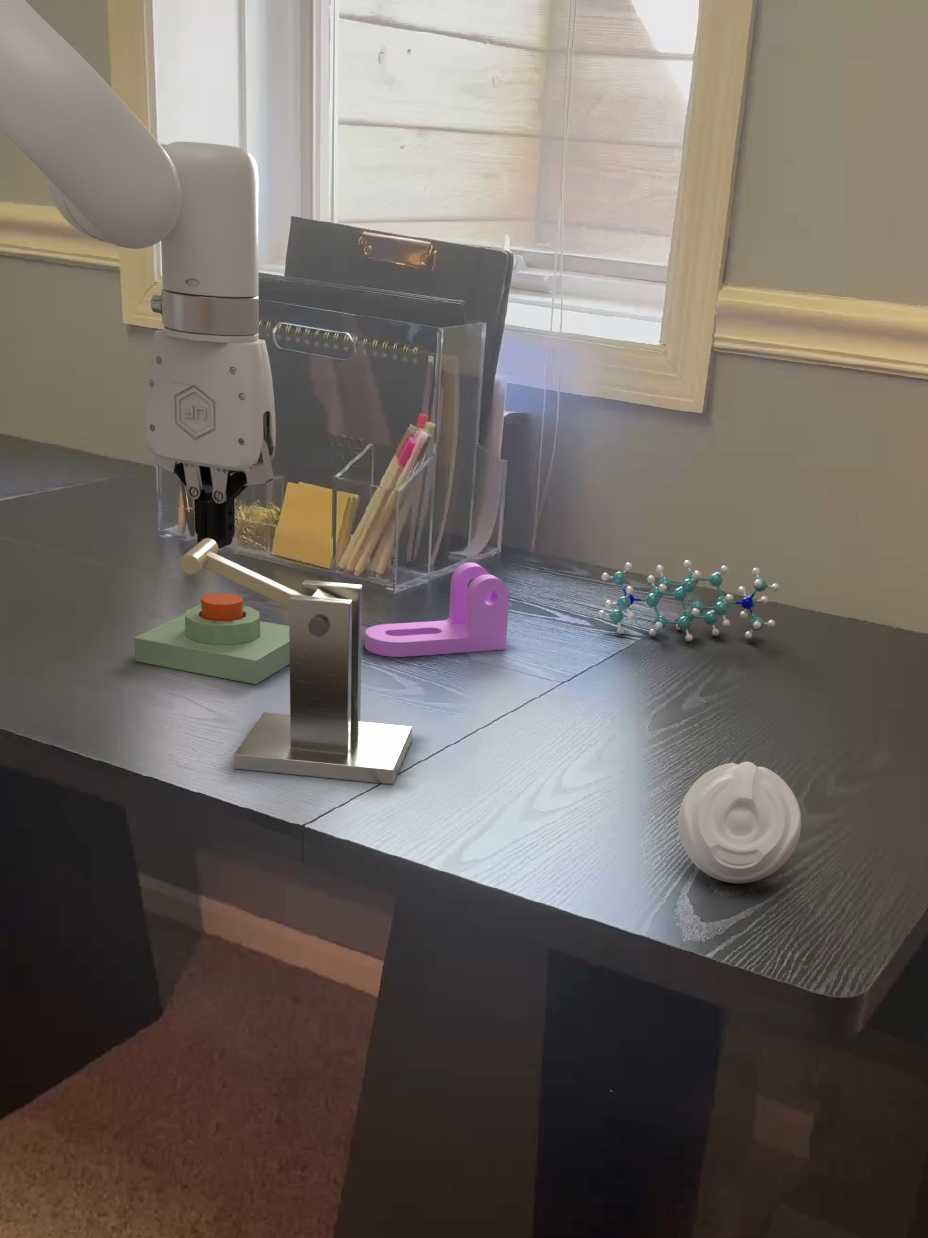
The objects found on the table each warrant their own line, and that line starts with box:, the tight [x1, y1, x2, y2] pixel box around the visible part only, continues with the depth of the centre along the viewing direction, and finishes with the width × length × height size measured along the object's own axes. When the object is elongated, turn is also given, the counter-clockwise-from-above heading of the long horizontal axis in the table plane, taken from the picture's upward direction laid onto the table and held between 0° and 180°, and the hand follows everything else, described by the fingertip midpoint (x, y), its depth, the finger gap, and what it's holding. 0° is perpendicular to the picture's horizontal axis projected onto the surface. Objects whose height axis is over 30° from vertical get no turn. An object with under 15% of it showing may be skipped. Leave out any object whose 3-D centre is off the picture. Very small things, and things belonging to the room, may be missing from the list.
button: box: [200, 592, 244, 621], centre depth 122 cm, size 4×4×2 cm
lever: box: [179, 538, 338, 608], centre depth 100 cm, size 12×5×2 cm, turn 85°
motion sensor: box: [677, 761, 802, 884], centre depth 91 cm, size 8×8×8 cm
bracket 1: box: [233, 579, 413, 785], centre depth 103 cm, size 12×9×13 cm
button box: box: [133, 604, 290, 685], centre depth 123 cm, size 12×10×4 cm
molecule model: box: [597, 559, 780, 643], centre depth 138 cm, size 8×18×7 cm, turn 96°
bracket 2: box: [364, 562, 510, 658], centre depth 130 cm, size 13×6×7 cm, turn 113°
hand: (215, 545), depth 119 cm, fingers closed
